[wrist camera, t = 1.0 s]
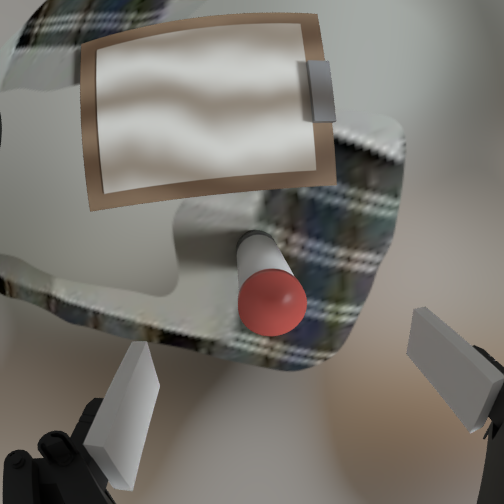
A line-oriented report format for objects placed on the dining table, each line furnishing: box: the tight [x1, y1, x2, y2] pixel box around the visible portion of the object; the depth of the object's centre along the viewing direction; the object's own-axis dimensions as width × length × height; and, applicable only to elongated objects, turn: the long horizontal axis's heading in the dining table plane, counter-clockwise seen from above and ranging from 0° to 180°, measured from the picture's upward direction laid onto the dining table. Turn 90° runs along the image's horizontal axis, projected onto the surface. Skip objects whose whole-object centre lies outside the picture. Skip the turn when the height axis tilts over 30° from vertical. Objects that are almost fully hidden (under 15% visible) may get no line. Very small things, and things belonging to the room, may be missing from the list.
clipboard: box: [80, 13, 337, 211], centre depth 26 cm, size 18×24×3 cm
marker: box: [236, 230, 307, 336], centre depth 25 cm, size 4×4×13 cm
